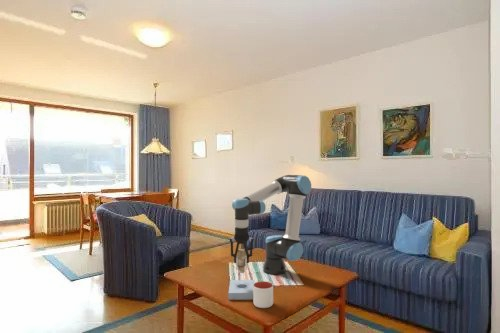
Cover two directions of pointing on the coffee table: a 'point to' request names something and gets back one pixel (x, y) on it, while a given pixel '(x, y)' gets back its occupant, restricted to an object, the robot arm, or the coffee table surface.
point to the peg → (241, 260)
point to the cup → (263, 294)
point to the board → (241, 290)
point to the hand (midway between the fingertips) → (241, 268)
